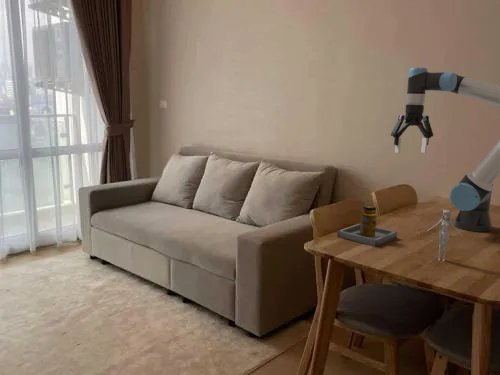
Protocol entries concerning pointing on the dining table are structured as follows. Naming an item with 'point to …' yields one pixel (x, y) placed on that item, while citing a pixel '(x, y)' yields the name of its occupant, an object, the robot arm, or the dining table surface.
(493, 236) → the dining table surface
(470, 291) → the dining table surface
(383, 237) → the holder
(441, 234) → the human figurine
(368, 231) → the condiment
